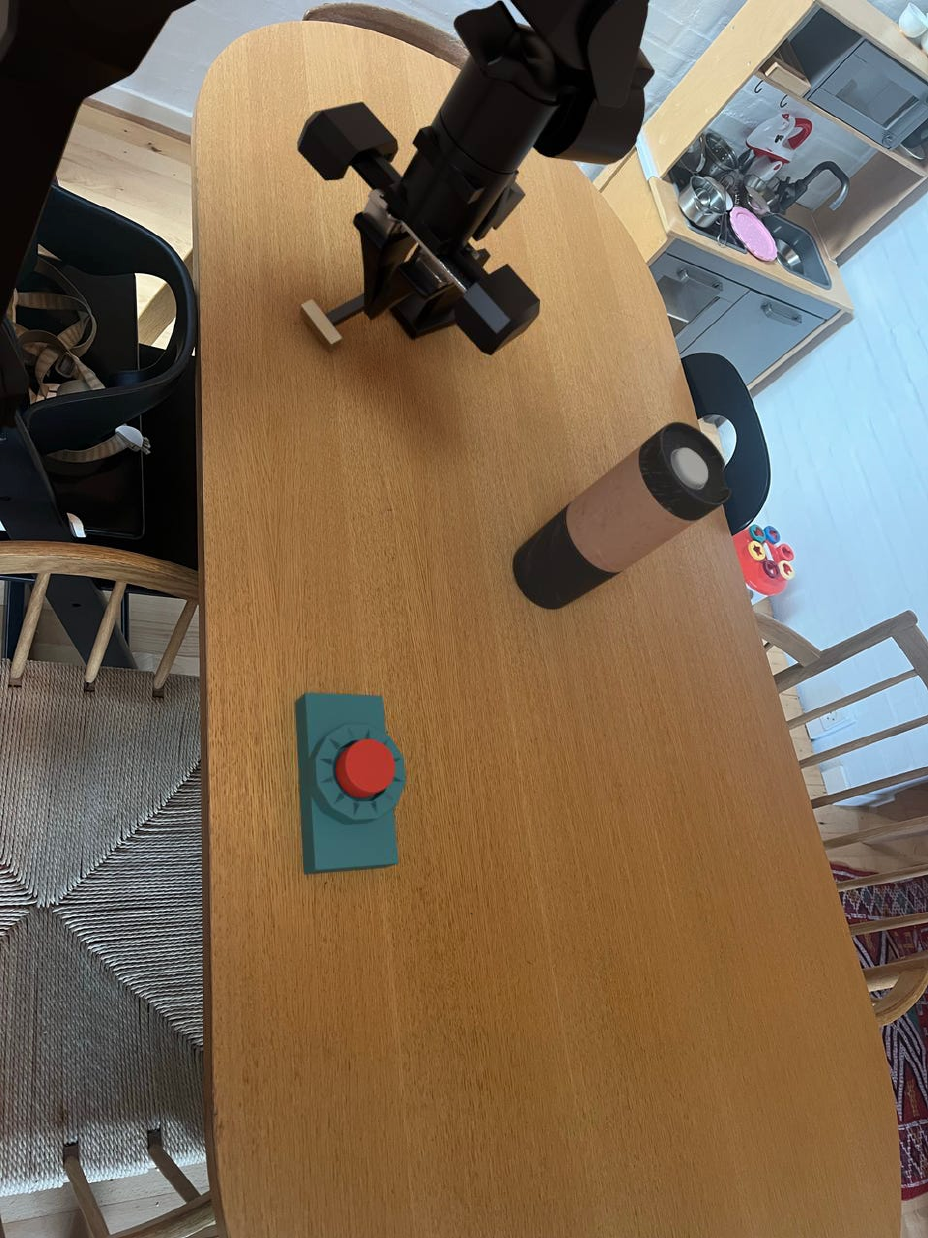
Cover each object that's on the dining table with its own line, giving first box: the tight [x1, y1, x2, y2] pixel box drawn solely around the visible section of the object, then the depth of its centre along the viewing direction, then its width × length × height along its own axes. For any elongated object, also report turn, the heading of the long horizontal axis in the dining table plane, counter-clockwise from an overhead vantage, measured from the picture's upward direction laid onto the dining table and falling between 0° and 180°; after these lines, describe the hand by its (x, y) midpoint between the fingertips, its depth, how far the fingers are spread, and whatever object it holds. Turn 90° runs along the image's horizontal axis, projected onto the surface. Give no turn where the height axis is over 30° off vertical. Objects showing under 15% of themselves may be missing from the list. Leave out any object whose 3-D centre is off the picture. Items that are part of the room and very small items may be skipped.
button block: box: [294, 691, 407, 876], centre depth 53 cm, size 12×6×4 cm, turn 9°
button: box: [336, 739, 395, 798], centre depth 51 cm, size 4×4×2 cm
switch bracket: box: [388, 243, 492, 341], centre depth 77 cm, size 9×7×9 cm
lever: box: [299, 292, 364, 353], centre depth 73 cm, size 18×4×2 cm, turn 135°
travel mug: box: [512, 421, 732, 610], centre depth 66 cm, size 8×8×20 cm
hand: (371, 315), depth 59 cm, fingers closed
